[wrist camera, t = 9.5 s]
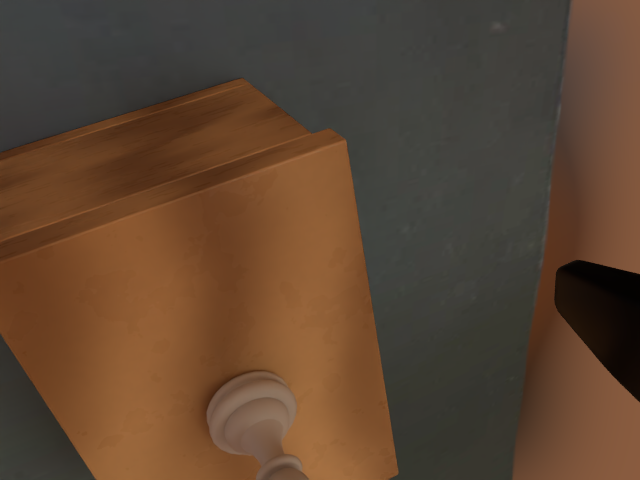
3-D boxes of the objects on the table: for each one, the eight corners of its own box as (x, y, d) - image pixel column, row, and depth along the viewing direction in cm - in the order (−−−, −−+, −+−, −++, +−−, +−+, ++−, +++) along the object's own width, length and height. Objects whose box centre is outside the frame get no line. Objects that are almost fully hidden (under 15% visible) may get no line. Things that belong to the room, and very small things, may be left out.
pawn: (239, 449, 18) (285, 567, 15) (185, 412, 16) (224, 536, 13) (304, 395, 18) (364, 501, 15) (257, 353, 16) (313, 461, 13)
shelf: (256, 72, 20) (347, 139, 14) (324, 359, 28) (399, 474, 22) (-20, 157, 18) (-39, 275, 12) (138, 444, 25) (171, 595, 20)
